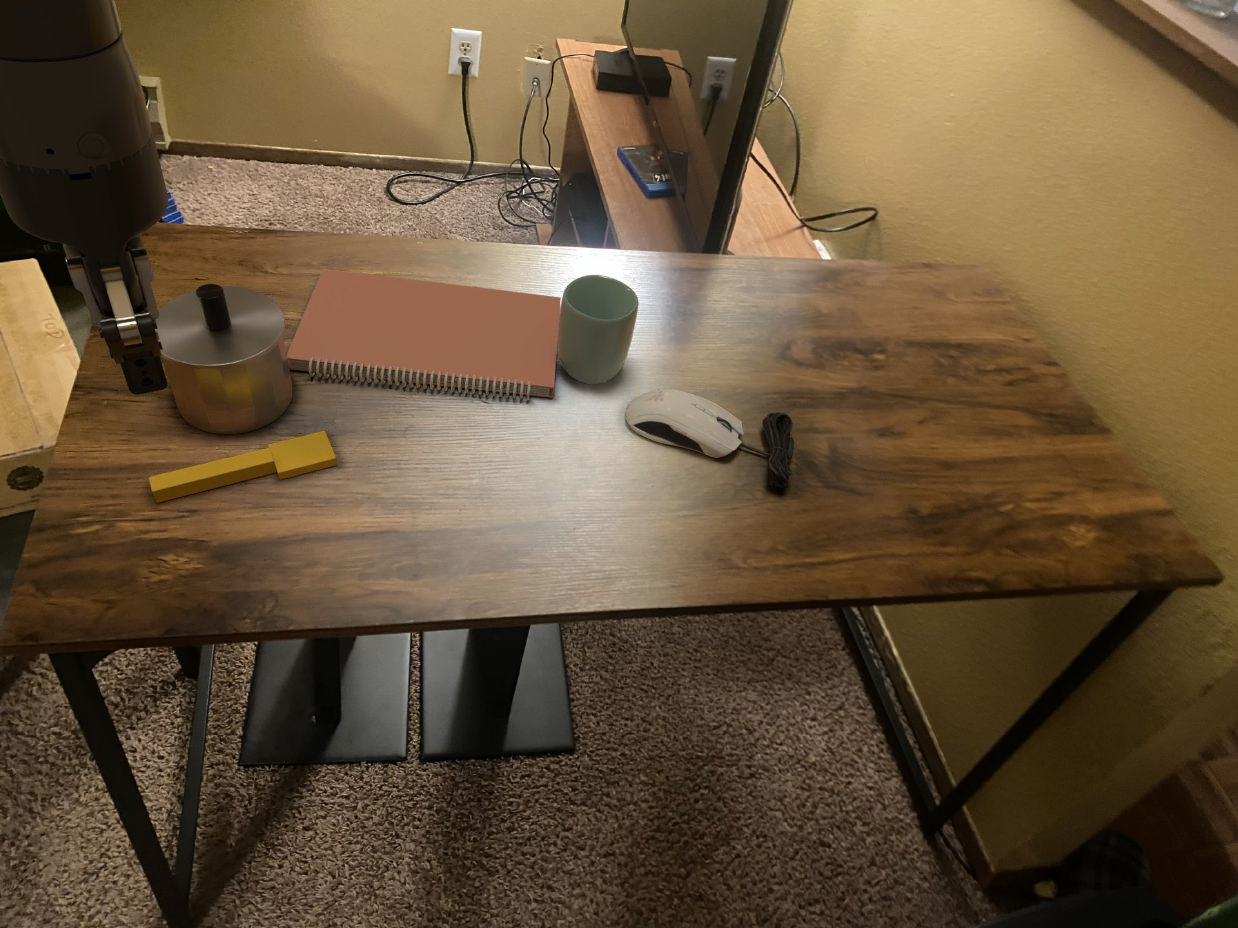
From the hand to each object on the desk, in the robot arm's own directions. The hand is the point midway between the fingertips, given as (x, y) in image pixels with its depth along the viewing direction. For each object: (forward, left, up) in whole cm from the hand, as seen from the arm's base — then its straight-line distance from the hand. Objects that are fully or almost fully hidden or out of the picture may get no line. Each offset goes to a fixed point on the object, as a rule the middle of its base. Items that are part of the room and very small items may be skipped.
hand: (148, 385), depth 54 cm
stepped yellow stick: (+5, +10, -20) cm, 23 cm away
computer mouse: (+48, -2, -21) cm, 52 cm away
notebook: (+27, +22, -21) cm, 40 cm away
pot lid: (+6, +20, -12) cm, 24 cm away
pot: (+6, +20, -20) cm, 29 cm away
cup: (+41, +12, -21) cm, 48 cm away
